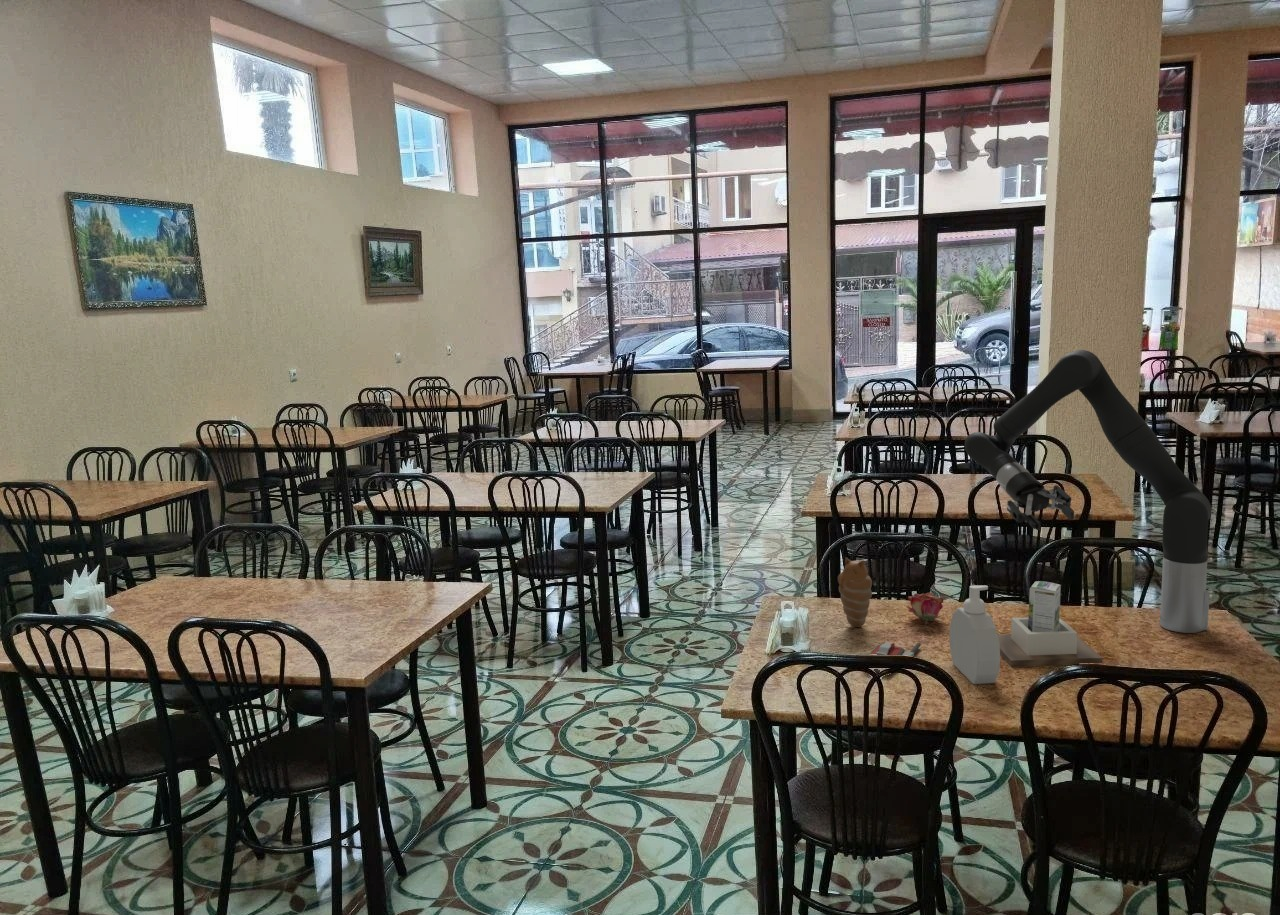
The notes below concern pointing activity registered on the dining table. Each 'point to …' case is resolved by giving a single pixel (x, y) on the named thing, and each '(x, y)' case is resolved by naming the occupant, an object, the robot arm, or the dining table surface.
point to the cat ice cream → (855, 591)
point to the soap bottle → (975, 640)
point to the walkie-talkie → (892, 650)
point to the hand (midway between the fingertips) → (1056, 522)
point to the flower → (925, 606)
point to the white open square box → (1044, 639)
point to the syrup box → (1044, 607)
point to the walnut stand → (1020, 658)
